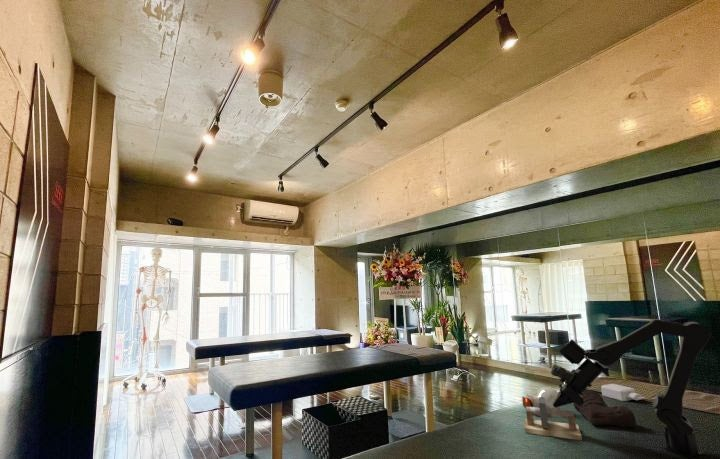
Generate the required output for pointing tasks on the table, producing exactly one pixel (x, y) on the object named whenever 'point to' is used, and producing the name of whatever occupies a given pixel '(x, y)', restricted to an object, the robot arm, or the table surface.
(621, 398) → the charger
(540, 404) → the collar
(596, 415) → the brown curved lump
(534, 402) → the potion bottle
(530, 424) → the pipe rig
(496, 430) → the table surface
